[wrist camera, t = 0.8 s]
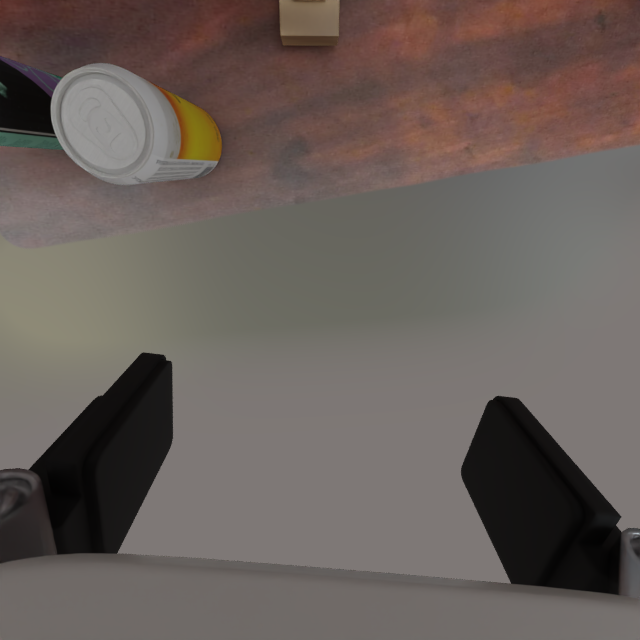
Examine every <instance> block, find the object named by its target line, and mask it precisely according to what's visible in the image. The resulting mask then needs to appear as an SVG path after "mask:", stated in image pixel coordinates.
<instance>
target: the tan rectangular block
mask: <svg viewBox="0 0 640 640" xmlns="http://www.w3.org/2000/svg"><path fill="white" fill-rule="evenodd" d="M339 5H340V0H279V15H280V36H281V40H282V44H283V45H306V46H337V43H338V38H339Z"/></svg>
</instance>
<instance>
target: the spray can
mask: <svg viewBox="0 0 640 640" xmlns="http://www.w3.org/2000/svg"><path fill="white" fill-rule="evenodd" d="M61 79H62V77H59V76H56V75H53V74H50V73H47V72H45V71H42V70H39V69H36V68H33V67H30V66H27V65H24V64H22V63H19V62H16V61H13V60H10V59H7V58H4V57H1V56H0V146H12V147H28V148H44V149H60V150H64V149H63V148H62V146H61V144H60V143H59V141H58V139H57V137H56V134H55V131H54V129H53V125H52V120H51V100H52V96H53V93H54V90H55V88H56V86H57V84H58V83H59V82H60V80H61Z"/></svg>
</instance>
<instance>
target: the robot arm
mask: <svg viewBox="0 0 640 640" xmlns="http://www.w3.org/2000/svg"><path fill="white" fill-rule="evenodd" d="M172 404H173V402H172V362H171V361H167V360H166V357H165V356H164V355H160V354H152V353H142V354H140V355H139V356H138V358H137V359H136V360H135V361H134V362H133V363H132V364H131V365H130V367H128V369H127V370H126V371H125V372H124V373H123V374H122V375H121V376H120V377H119V379H118V380H117V381H116V382H115V383H114V384H113V385H112V386H111V387H110V388H109V389H108V391H107V392H106V393H105V394H104V395H103V396H98V397H97V398H95V400H93V401H92V402H91V403H90V404H89V405H88V407H87V408H86V409H85V410H84V411H83V412H82V413H81V414H80V415H79V416H78V417H77V418H76V419H75V420H74V421H73V423H72V424H71V425H70V426H69V427H68V428H67V429H66V430H65V431H64V432H63V433H62V434H61V436H60V437H59V438H58V439H57V440H56V441H55V442H54V443H53V444H52V445H51V446H50V447H49V448H48V449H47V450H46V452H45V453H44V454H43V455H42V456H41V457H40V458H39V459H38V460H37V461H36V462H35V463H34V464H33V465H32V467H31V468H30V469H29V470H26V469H20V468H16V469H4V470H0V640H640V529H638V528H628V529H626V530H624V531H623V532H621V531H620V530H619V529H618V527H617V526H616V524H617V523H618V521H619V520H620V518H621V516H620V515H619V514H618V512H617V511H616V510H615V509H614V508H613V507H612V505H611V504H610V503H609V502H608V501H607V500H606V499H605V498H604V496H603V495H602V494H601V493H600V492H599V490H597V488H596V487H595V486H594V485H593V484H592V482H591V481H590V480H589V479H588V478H587V477H586V476H585V474H584V473H583V472H582V471H581V470H580V469H579V467H578V466H577V465H576V464H575V463H574V462H573V461H572V459H571V458H570V457H569V456H568V455H567V454H566V453H565V452H564V450H563V449H562V448H561V447H560V446H559V445H558V443H557V442H556V441H555V440H554V439H553V438H552V436H551V435H550V434H549V433H548V432H547V431H546V430H545V429H544V427H543V426H542V425H541V424H540V423H539V422H538V420H537V419H536V418H535V417H534V416H533V415H532V414H531V412H530V411H529V410H528V409H527V408H526V407H525V405H524V404H523V403H522V402H521V401H520V400H519V399H517V398H511V397H502V396H496V397H495V398H494V399H493V400H490V401H489V402H488V403H487V406H486V408H485V410H484V413H483V415H482V418H481V421H480V423H479V425H478V428H477V430H476V433H475V435H474V438H473V440H472V443H471V446H470V447H469V450H468V453H467V455H466V457H465V460H464V462H463V465H462V468H461V476H462V479H463V482H464V484H465V486H466V488H467V490H468V492H469V494H470V497H471V499H472V501H473V503H474V505H475V507H476V509H477V512H478V514H479V516H480V518H481V520H482V522H483V524H484V526H485V529H486V531H487V533H488V535H489V537H490V539H491V541H492V543H493V546H494V548H495V550H496V552H497V554H498V556H499V558H500V560H501V563H502V564H503V567H504V569H505V571H506V573H507V575H508V578H509V579H510V582H511V584H507V583H497V582H486V581H474V580H463V579H452V578H440V577H428V576H416V575H404V574H393V573H381V572H369V571H356V570H344V569H332V568H319V567H307V566H294V565H280V564H268V563H255V562H242V561H229V560H215V559H202V558H187V557H170V556H152V555H136V554H117V553H118V550H119V549H120V547H121V545H122V543H123V541H124V538H125V537H126V535H127V533H128V530H129V529H130V527H131V525H132V523H133V521H134V519H135V517H136V515H137V513H138V511H139V509H140V507H141V505H142V503H143V501H144V499H145V497H146V495H147V493H148V491H149V489H150V487H151V485H152V483H153V481H154V479H155V477H156V475H157V473H158V471H159V469H160V467H161V465H162V463H163V461H164V459H165V457H166V455H167V453H168V451H169V449H170V447H171V444H172V439H173V405H172Z"/></svg>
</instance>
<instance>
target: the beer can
mask: <svg viewBox="0 0 640 640" xmlns="http://www.w3.org/2000/svg"><path fill="white" fill-rule="evenodd" d="M51 120H52V125H53V129H54V131H55V134H56V137H57V139H58V141H59V143H60V144H61V146H62V148H63V149H64V151H65V152H66V153H67V154H68V156H69V157H70V158H71V159H72V160H73V161H74V162H75V163H76V164H78V165H79V166H80V167H82V168H83V169H84V170H86V171H87V172H89V173H90V174H92V175H93V176H95V177H97V178H98V179H101V180H103V181H105V182H108V183H112V184H117V185H133V184H143V183H153V182H163V181H173V180H182V179H192V178H199V177H203V176H205V175H207V174H208V173H210V172H211V171H212V170H213V169H214V168H215V166H216V165H217V163H218V161H219V159H220V156H221V151H222V140H221V135H220V132H219V129H218V127H217V125H216V123H215V122H214V120H213V119H212V118H211V116H210V115H209V114H208V113H207V112H206V111H204V110H203V109H201V108H200V107H198V106H196V105H194V104H192V103H190V102H188V101H186V100H184V99H182V98H180V97H178V96H176V95H175V94H173V93H171V92H169V91H167V90H165V89H163V88H161V87H159V86H157V85H155V84H153V83H151V82H149V81H147V80H145V79H143V78H141V77H139V76H137V75H135V74H133V73H131V72H130V71H128V70H126V69H123V68H121V67H119V66H116V65H112V64H106V63H94V64H89V65H86V66H83V67H81V68H79V69H76V70H73V71H71V72H69V73H68V74H67V75H65V76H64V77H63V78H62V79H61V80H60V82H59V83H58V84H57V86H56V88H55V90H54V93H53V96H52V100H51Z"/></svg>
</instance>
